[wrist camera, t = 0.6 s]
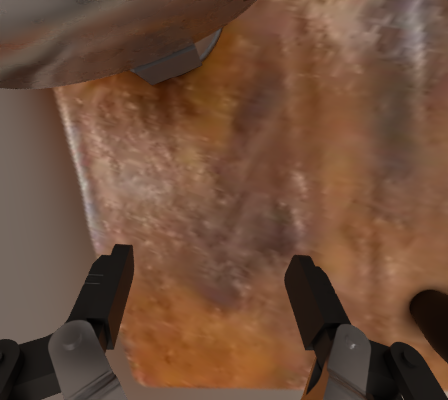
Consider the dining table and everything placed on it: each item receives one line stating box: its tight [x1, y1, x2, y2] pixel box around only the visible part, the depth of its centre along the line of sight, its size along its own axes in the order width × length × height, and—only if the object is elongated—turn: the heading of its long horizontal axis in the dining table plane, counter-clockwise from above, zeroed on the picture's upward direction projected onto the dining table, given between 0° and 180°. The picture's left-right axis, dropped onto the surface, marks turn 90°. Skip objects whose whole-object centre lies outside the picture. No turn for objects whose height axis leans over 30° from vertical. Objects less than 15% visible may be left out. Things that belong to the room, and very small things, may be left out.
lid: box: [0, 0, 257, 89], centre depth 13 cm, size 20×17×2 cm
